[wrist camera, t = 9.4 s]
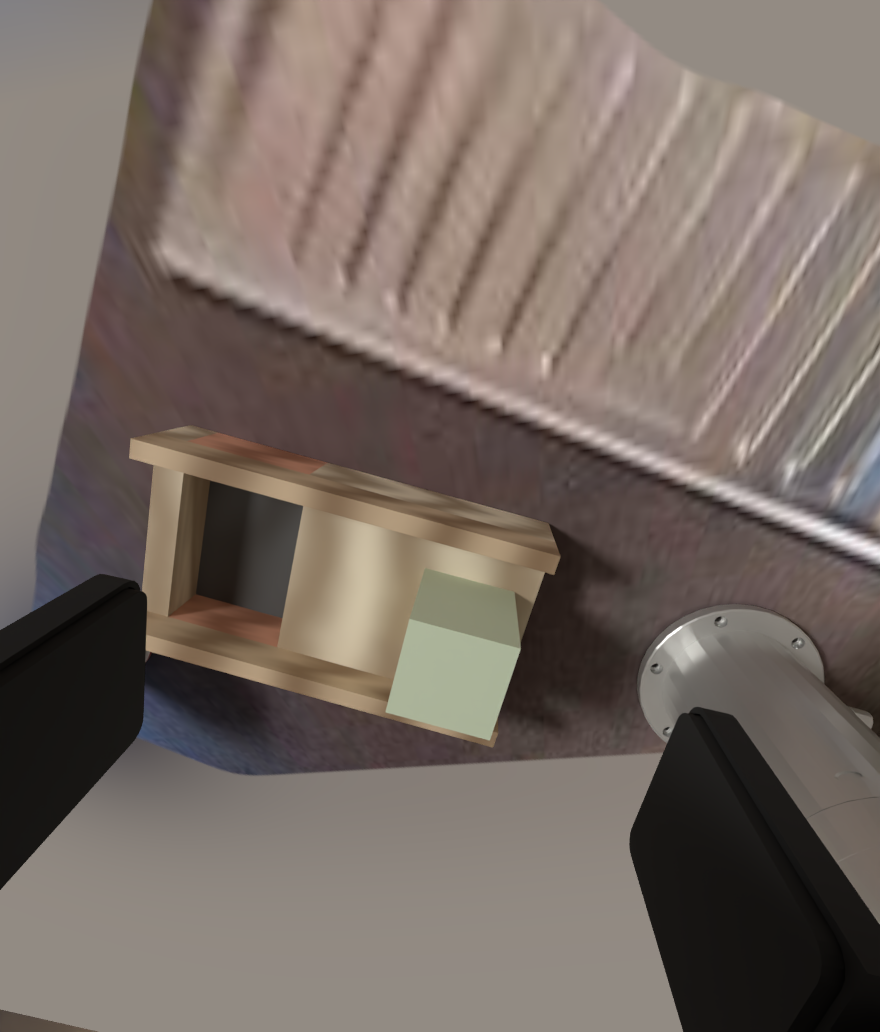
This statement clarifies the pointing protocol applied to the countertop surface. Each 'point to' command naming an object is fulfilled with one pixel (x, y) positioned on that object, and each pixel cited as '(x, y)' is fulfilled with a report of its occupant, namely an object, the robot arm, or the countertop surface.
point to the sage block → (456, 655)
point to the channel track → (310, 564)
